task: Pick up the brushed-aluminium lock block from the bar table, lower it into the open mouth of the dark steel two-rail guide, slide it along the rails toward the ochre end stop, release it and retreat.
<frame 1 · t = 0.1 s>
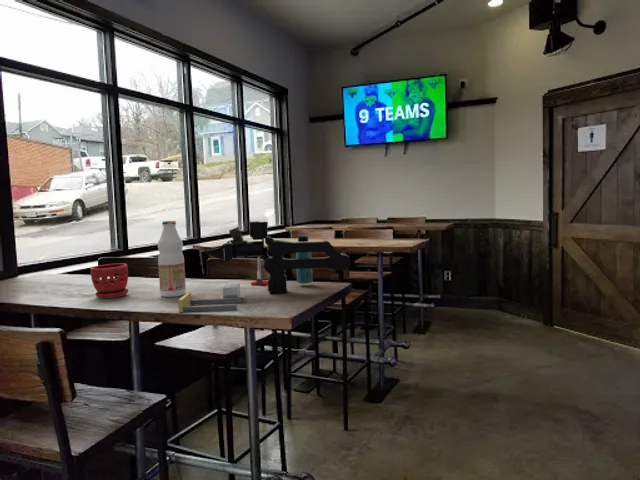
hand: (208, 250, 186), 17 cm above the table, tool horizontal, fingers open, 9 cm apart
guide rails: (214, 306, 166), on the table
fruit juice: (173, 295, 190), on the table
beverage bottle: (304, 286, 201), on the table
aluminium lock block: (232, 299, 178), on the table
plant pot: (111, 297, 191), on the table
receipt spike: (261, 284, 210), on the table
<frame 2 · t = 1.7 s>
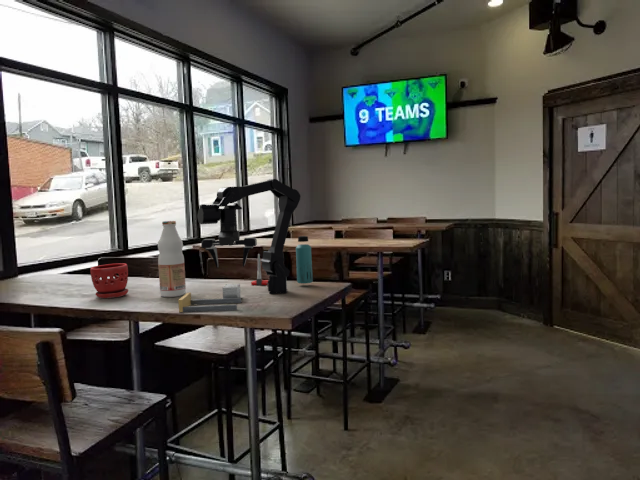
hand: (230, 267, 177), 11 cm above the table, tool pointing down, fingers open, 9 cm apart
nothing on the table moved.
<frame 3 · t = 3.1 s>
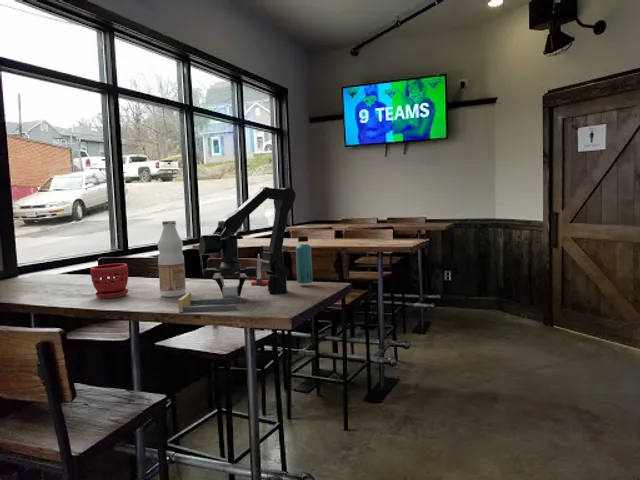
hand: (231, 296, 178), 1 cm above the table, tool pointing down, fingers closed on aluminium lock block, 5 cm apart
aluminium lock block: (231, 299, 178), on the table, touching gripper
everything else where it was.
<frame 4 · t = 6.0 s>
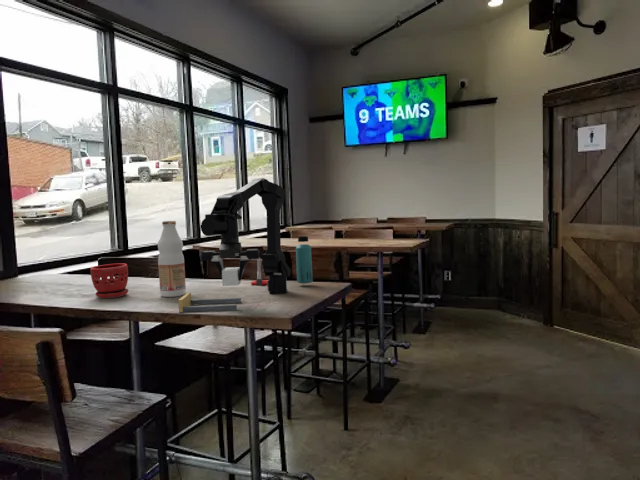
hand: (231, 280, 166), 8 cm above the table, tool pointing down, fingers closed on aluminium lock block, 5 cm apart
aluminium lock block: (232, 283, 166), point 7 cm above the table, touching gripper
everything else where it was.
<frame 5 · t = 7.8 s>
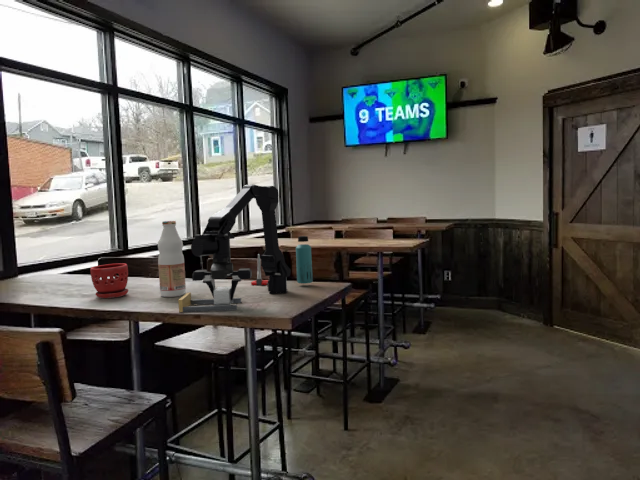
hand: (223, 300, 166), 2 cm above the table, tool pointing down, fingers closed on aluminium lock block, 5 cm apart
aluminium lock block: (223, 303, 166), point 1 cm above the table, touching gripper
everything else where it was.
when the fingers open (2 cm above the table, at t = 9.1 s): aluminium lock block drops 1 cm, resting in guide rails.
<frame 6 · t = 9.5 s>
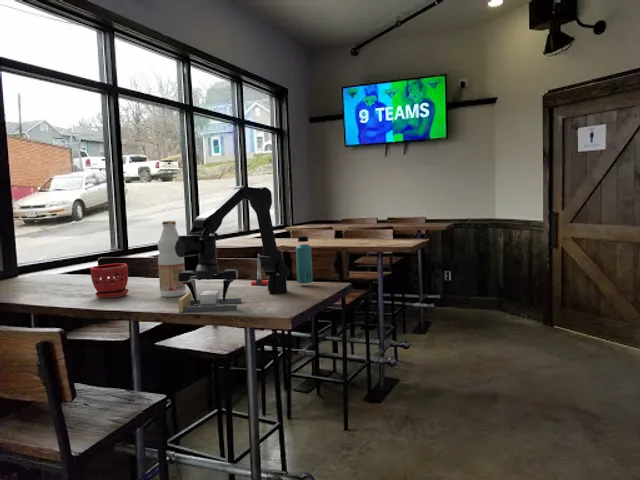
hand: (209, 301, 166), 2 cm above the table, tool pointing down, fingers open, 9 cm apart
aluminium lock block: (210, 307, 166), resting in guide rails
everything else where it was.
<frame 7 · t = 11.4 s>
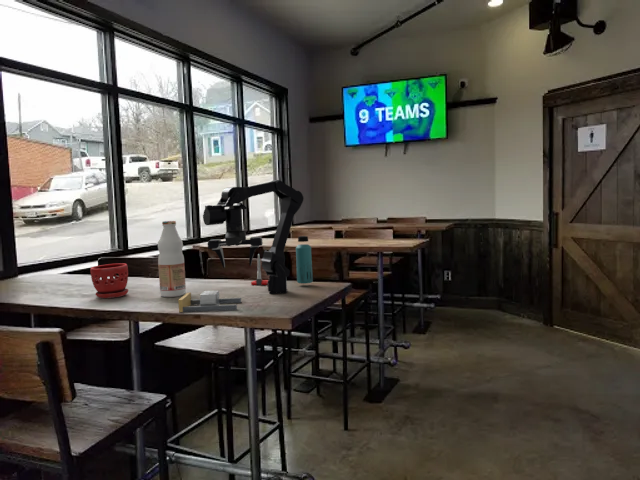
hand: (237, 266, 178), 11 cm above the table, tool pointing down, fingers open, 9 cm apart
nothing on the table moved.
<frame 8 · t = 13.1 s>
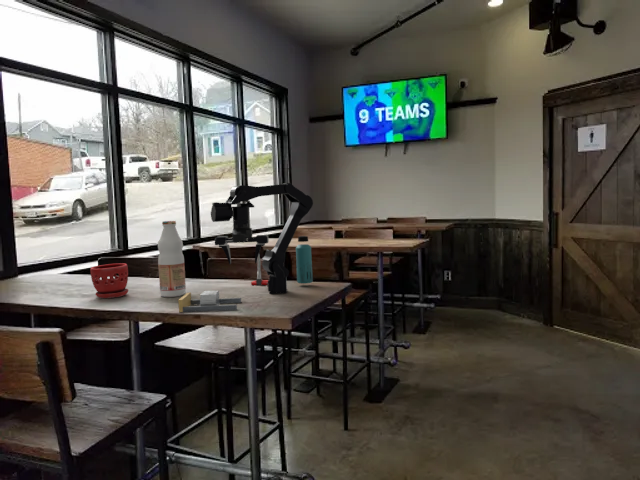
hand: (243, 263, 181), 12 cm above the table, tool pointing down, fingers open, 9 cm apart
nothing on the table moved.
at the end: aluminium lock block 1.2 cm from the target spot on the guide rails, point 0.0 cm above the guide rails's base; aluminium lock block tilted 0°; the gripper is holding nothing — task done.
